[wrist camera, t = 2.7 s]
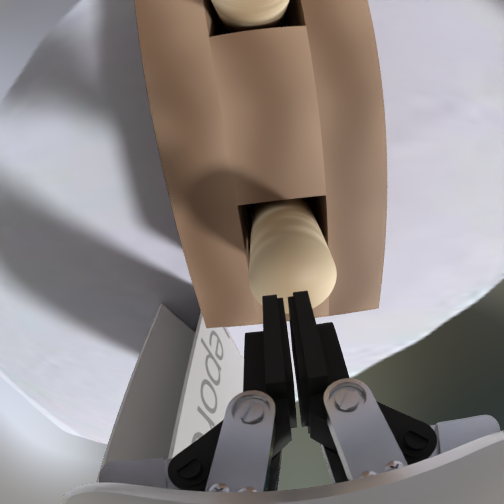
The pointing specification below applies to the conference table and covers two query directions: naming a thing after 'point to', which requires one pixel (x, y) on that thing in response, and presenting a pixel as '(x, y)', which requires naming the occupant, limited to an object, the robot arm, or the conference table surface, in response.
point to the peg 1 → (250, 13)
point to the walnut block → (269, 141)
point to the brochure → (175, 389)
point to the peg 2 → (289, 253)
